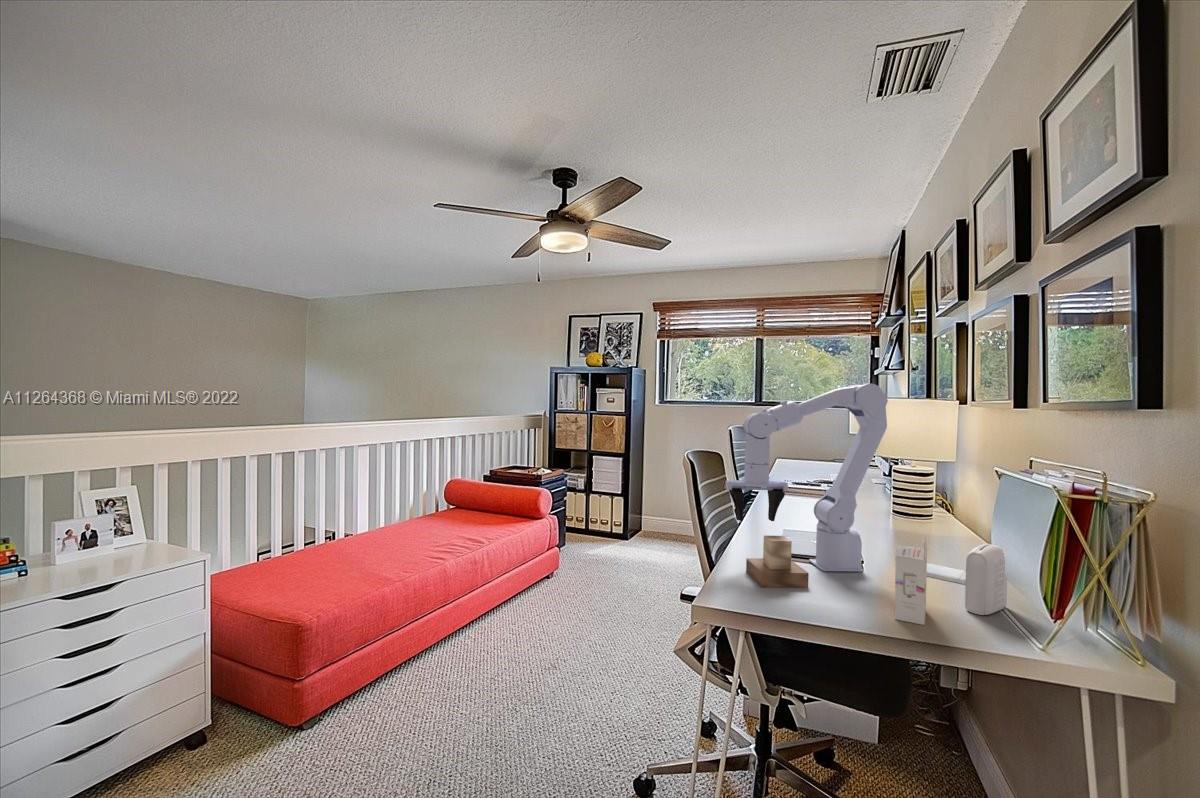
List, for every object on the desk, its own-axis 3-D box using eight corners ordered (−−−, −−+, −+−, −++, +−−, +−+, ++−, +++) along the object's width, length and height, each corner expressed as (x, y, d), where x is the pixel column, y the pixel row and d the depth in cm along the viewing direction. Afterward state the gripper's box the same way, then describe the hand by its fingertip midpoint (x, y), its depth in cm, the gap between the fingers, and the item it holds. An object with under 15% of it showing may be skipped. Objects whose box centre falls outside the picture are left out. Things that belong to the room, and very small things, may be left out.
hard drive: (901, 566, 125) (964, 579, 117) (911, 559, 131) (972, 571, 123) (901, 573, 125) (964, 587, 117) (911, 565, 131) (972, 578, 123)
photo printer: (984, 600, 107) (986, 538, 107) (1010, 607, 104) (1011, 544, 104) (961, 610, 102) (962, 545, 102) (987, 618, 98) (988, 551, 98)
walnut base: (789, 571, 122) (789, 558, 122) (808, 587, 112) (808, 573, 112) (746, 571, 122) (746, 558, 122) (761, 586, 112) (761, 572, 112)
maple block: (782, 562, 119) (783, 535, 119) (790, 569, 115) (791, 541, 115) (763, 562, 119) (763, 535, 119) (770, 568, 115) (770, 540, 115)
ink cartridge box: (895, 604, 104) (897, 529, 104) (925, 610, 101) (927, 533, 101) (893, 619, 97) (895, 538, 97) (925, 626, 94) (927, 542, 94)
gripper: (732, 464, 124) (730, 523, 124) (793, 466, 124) (792, 524, 124) (723, 461, 131) (722, 516, 131) (781, 462, 131) (780, 517, 131)
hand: (755, 520), depth 128 cm, fingers open, 7 cm apart
